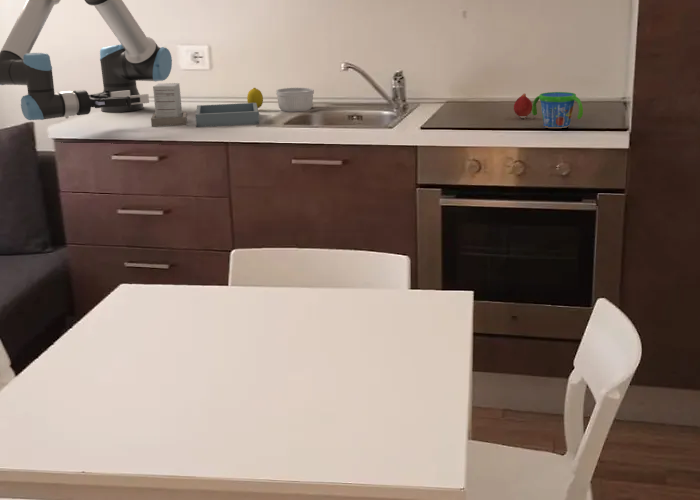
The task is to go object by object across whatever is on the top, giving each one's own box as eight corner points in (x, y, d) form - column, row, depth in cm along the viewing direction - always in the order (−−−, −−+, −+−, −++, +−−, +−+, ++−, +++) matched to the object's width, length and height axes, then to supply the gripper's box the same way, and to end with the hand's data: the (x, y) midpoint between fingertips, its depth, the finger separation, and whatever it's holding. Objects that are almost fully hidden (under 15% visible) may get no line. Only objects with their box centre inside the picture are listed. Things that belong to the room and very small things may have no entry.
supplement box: (161, 121, 295) (157, 83, 291) (183, 120, 294) (180, 82, 291) (155, 125, 288) (152, 86, 284) (178, 124, 287) (175, 85, 283)
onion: (512, 120, 278) (513, 94, 276) (514, 117, 284) (514, 92, 281) (531, 120, 277) (532, 94, 275) (532, 117, 282) (533, 92, 280)
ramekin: (320, 107, 314) (320, 87, 312) (303, 113, 303) (302, 93, 301) (288, 106, 320) (287, 86, 318) (270, 111, 309) (269, 91, 306)
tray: (198, 117, 301) (197, 105, 299) (256, 114, 303) (256, 102, 302) (196, 127, 282) (195, 114, 281) (259, 123, 284) (258, 111, 283)
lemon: (256, 112, 308) (254, 89, 305) (244, 110, 311) (243, 88, 309) (266, 109, 312) (265, 87, 310) (255, 108, 315) (254, 86, 313)
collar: (154, 120, 296) (153, 113, 295) (187, 119, 297) (186, 111, 296) (151, 126, 285) (150, 118, 284) (186, 124, 287) (185, 117, 286)
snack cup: (524, 128, 265) (525, 93, 262) (544, 123, 272) (545, 90, 269) (568, 133, 254) (570, 98, 251) (588, 128, 261) (590, 94, 258)
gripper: (61, 111, 280) (123, 104, 293) (91, 119, 261) (157, 112, 274) (58, 87, 278) (121, 81, 290) (89, 94, 259) (155, 87, 272)
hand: (139, 96), depth 282 cm, fingers open, 13 cm apart
